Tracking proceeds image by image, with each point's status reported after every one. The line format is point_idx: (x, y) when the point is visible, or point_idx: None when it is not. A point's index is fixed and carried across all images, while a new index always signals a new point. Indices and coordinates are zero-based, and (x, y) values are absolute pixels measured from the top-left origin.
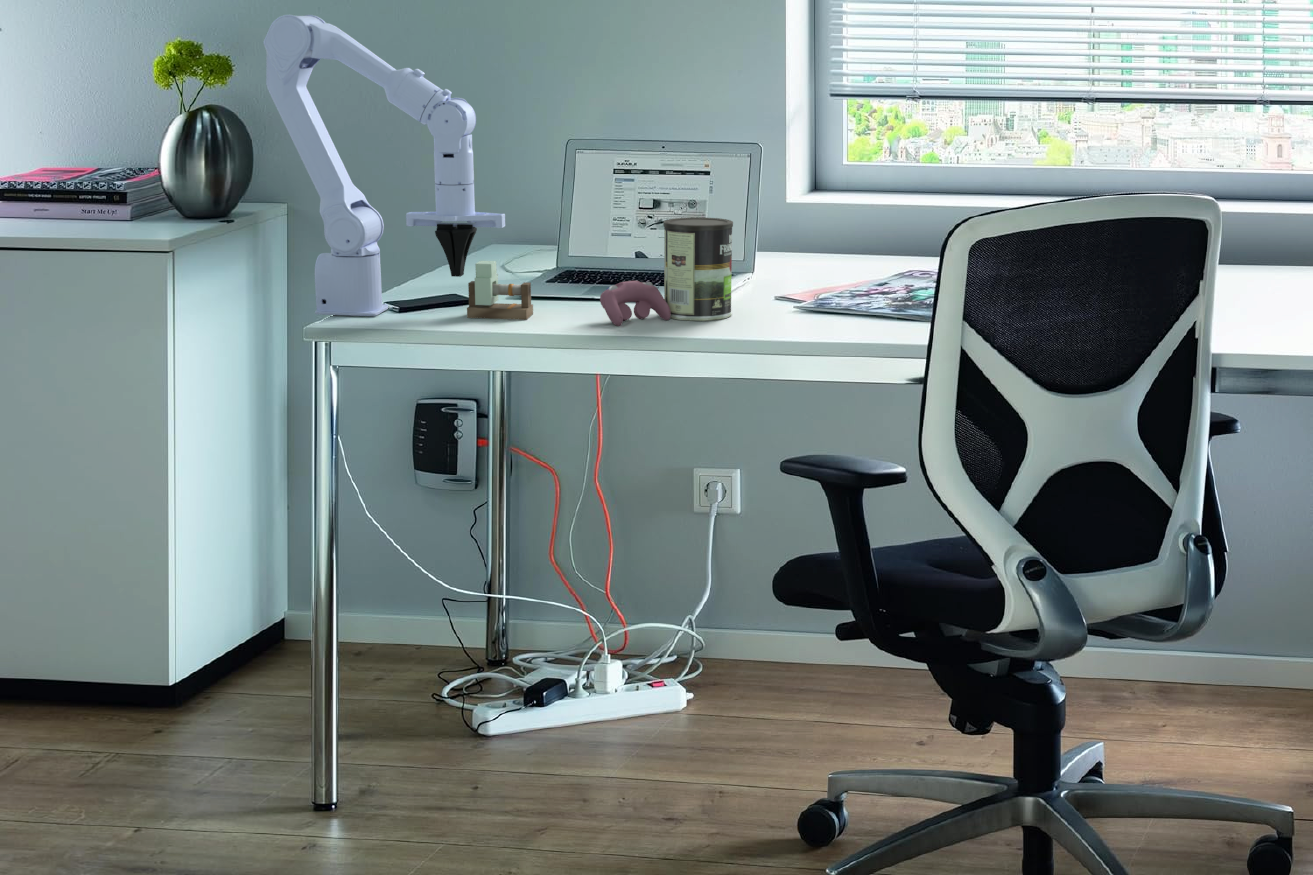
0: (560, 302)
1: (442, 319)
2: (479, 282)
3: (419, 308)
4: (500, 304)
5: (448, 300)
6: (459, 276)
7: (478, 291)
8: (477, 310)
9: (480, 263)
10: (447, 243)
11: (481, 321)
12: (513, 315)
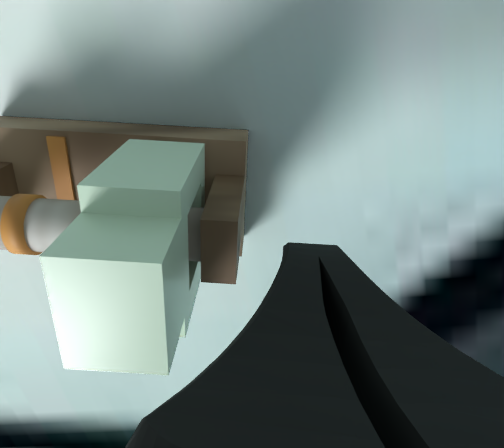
0: (30, 402)
1: (347, 92)
2: (155, 178)
3: (456, 296)
4: None
5: None
6: (289, 243)
7: (174, 162)
8: (199, 136)
9: (129, 279)
10: (426, 378)
11: (171, 63)
12: (46, 123)
